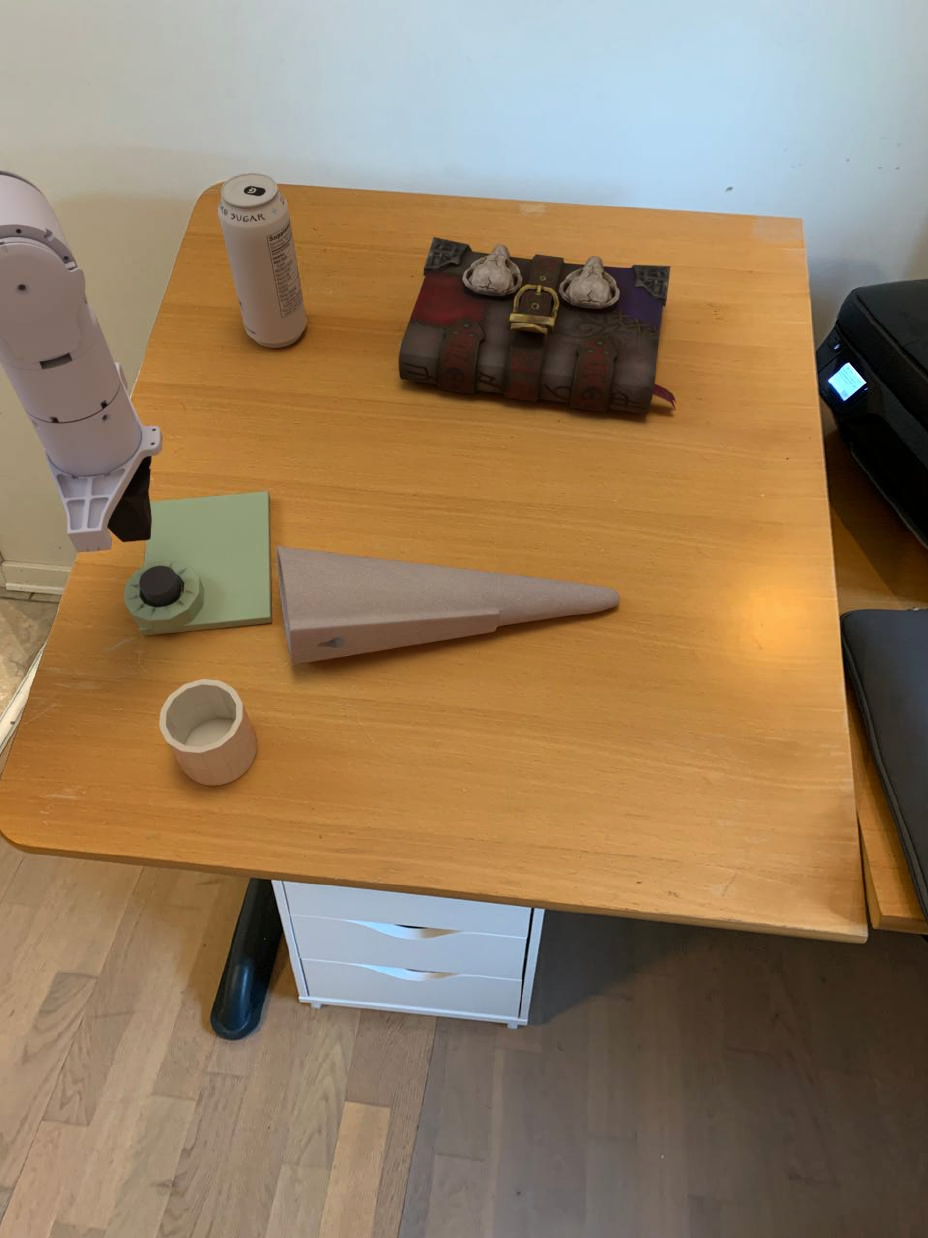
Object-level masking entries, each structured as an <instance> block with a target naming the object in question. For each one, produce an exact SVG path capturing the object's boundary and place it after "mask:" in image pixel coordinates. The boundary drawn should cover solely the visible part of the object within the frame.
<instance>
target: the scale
mask: <svg viewBox="0 0 928 1238" xmlns="http://www.w3.org/2000/svg"><path fill="white" fill-rule="evenodd" d="M150 506H151V515H152V525H151V539H149V540H145V551H144V565H143V566H141V567H139V568H138V569H136V570H135V571H134V572H133V574H132V575H131V576H130V578H129V579H128V580H127V581H126V583H125V584H124V592H123V603H124V605H125V606H126V608H127V611H128V612H129V614H130V615H131V617H132V618H133V620H134V621H135V623H136V625H138V626H139V632H140V633H141V635H142V636H143V637H145V636H154V635H164V634H174V633H183V632H185V633H186V632H194V631H204V630H214V629H215V630H216V629H224V628H235V627H244V626H253V625H263V624H271V623H273V597H272V596H273V595H272V593H273V592H272V590H273V589H272V546H271V545H272V543H271V542H272V541H271V539H272V538H271V536H272V535H271V497H270V493H269V491H268V490H264V491H254V492H242V493H231V494H220V495H209V496H198V497H187V498H186V497H185V498H176V499H164V500H163V499H162V500H153V501H150ZM154 566H167V567H170V568H171V569H173V570H174V572H175V573H176V576H177V578H178V580H179V583H180V585H181V593H180V596H179V597H178V598H177V600H176V601H174V602H173V603H171V604H169V605H166V606H154V605H151V604H150V603H148V602H147V600H146V599H145V597H144V595H143V593H142V591H141V589H140V586H139V580H140V577H141V576H142V574H143V573H144V572H145V571H146V570H148V569H149V568H152V567H154Z"/></svg>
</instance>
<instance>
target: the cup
mask: <svg viewBox="0 0 928 1238" xmlns="http://www.w3.org/2000/svg"><path fill="white" fill-rule="evenodd" d="M158 724H159V726H158V729H159V731H160V733H161V734H162V736H163V738H164V740H165V742H166V743H167V745H168V747H169V749H170V751H171V753H172V754H173V756H174V758H175V759H176V761H177V763H178V764H179V766H180V768H181V769H182V771H183V773H184V774H185V775H186V776H187V777H188V778H189V779H191V780H192V781H194V782H196V783H198V784H201V785H204V786H210V787H211V786H213V787H214V786H215V787H216V786H222V785H226V784H229V783H231V782H233V781H236V780H237V779H239V778H240V777H241V776H243V775H244V774H245V773H246V772H247V771H248V769H250V767H251V766H252V764H253V762H254V760H255V758H256V754H257V750H258V741H257V738H256V737H257V735H256V731H255V730H254V727H253V725H252V722H251V720H250V717H249V715H248V713H247V710H246V707H245V704H244V703H243V701H242V699H241V697H240V696H239V694H238V691H237V690H236V689H235V688H234V687H232V686H230V685H229V684H228V683H226V682H224V681H222V680H220V679H207V678H200V679H197V680H194V681H190V682H186V683H184V684H182V685H181V686H180V687H178V688H177V689H176V690H174V691H173V692H172V693H171V694H169V695H168V697H167V699H166V700H165V702H164V704H163V705H162V707H161V709H160V711H159V723H158Z"/></svg>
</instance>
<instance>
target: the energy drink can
mask: <svg viewBox="0 0 928 1238" xmlns="http://www.w3.org/2000/svg"><path fill="white" fill-rule="evenodd" d="M220 196H221V197H220V200H219V203H218V205H217V206H218V208H217V215H218V218H219V223H220V227H221V231H222V235H223V240H224V244H225V249H226V254H227V257H228V262H229V265H230V270H231V275H232V279H233V283H234V288H235V291H236V296H237V300H238V305H239V309H240V313H241V317H242V322H243V326H244V330H245V332H246V334H247V335H248V336H249V337H250V338H251V339H253V340H254V341H255V342H256V343H257V344H258V345H260V346H262V347H265V348H269V349H270V348H271V349H275V348H276V349H279V348H284V347H288V346H290V345H292V344H294V343H295V342H297V341H298V340H299V339H300V337H301V336H302V334H303V332H304V331H305V329H306V326H307V322H308V320H307V315H306V307H305V302H304V296H303V290H302V285H301V284H302V283H301V278H300V273H299V272H300V271H299V266H298V265H299V264H298V260H297V259H298V258H297V254H296V247H295V246H296V245H295V241H294V235H293V230H292V223H291V216H290V210H289V204H288V201H287V198H286V197H285V196H284V194H283V193H282V192H281V191H280V190H279V187H278V183H277V182H276V180H275V179H274V178H273V177H271V176H269V175H267V174H263V173H259V172H258V173H257V172H247V173H241V174H237V175H234V176H232V177H230V178H228V179H227V180H226V181H225V182H224V183H223V184H222V186H221V188H220Z"/></svg>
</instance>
